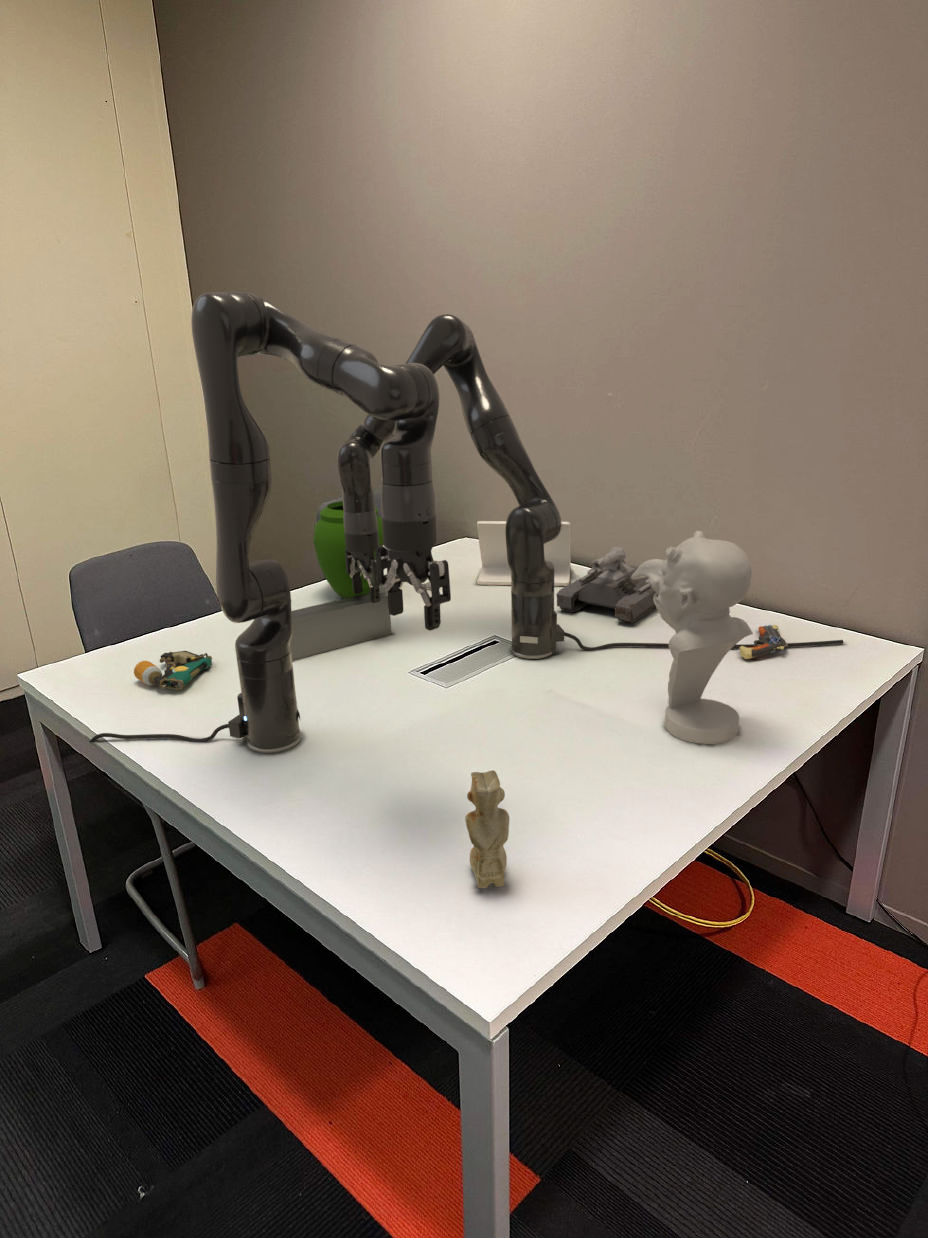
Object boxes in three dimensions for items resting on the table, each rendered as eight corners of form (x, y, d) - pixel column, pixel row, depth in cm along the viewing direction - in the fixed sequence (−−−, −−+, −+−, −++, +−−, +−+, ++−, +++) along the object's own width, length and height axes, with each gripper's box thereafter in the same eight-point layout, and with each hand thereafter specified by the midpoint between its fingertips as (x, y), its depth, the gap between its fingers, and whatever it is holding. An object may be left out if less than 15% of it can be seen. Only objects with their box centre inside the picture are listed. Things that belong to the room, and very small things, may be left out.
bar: (379, 627, 205) (377, 590, 201) (391, 634, 200) (389, 597, 197) (278, 653, 191) (274, 614, 188) (289, 661, 187) (284, 622, 183)
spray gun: (177, 659, 191) (231, 671, 185) (120, 684, 176) (176, 698, 171) (176, 641, 190) (230, 653, 184) (118, 665, 175) (174, 678, 169)
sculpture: (507, 859, 119) (506, 764, 113) (512, 893, 112) (511, 794, 107) (465, 861, 118) (462, 767, 113) (468, 895, 112) (465, 796, 106)
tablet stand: (569, 585, 229) (570, 524, 223) (476, 584, 232) (475, 523, 226) (570, 566, 246) (571, 508, 240) (484, 564, 249) (483, 507, 243)
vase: (406, 590, 229) (401, 501, 221) (360, 612, 214) (353, 517, 206) (350, 579, 239) (343, 494, 231) (303, 600, 224) (293, 509, 216)
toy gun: (742, 650, 179) (792, 647, 177) (732, 623, 197) (777, 620, 194) (742, 662, 179) (792, 659, 177) (732, 635, 197) (778, 632, 195)
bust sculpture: (671, 682, 170) (682, 511, 158) (763, 732, 151) (784, 540, 138) (606, 701, 164) (613, 523, 151) (694, 755, 144) (709, 555, 131)
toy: (603, 584, 229) (605, 530, 224) (673, 597, 218) (677, 540, 213) (555, 612, 210) (556, 553, 205) (630, 627, 199) (633, 566, 194)
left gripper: (357, 509, 122) (365, 615, 128) (419, 526, 112) (424, 641, 118) (398, 500, 127) (404, 603, 132) (462, 516, 116) (465, 627, 122)
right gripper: (331, 526, 194) (338, 593, 200) (361, 538, 183) (366, 609, 189) (361, 520, 198) (366, 587, 204) (391, 532, 187) (396, 601, 193)
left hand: (414, 621), depth 125 cm, fingers open, 8 cm apart
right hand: (366, 597), depth 196 cm, fingers open, 8 cm apart
